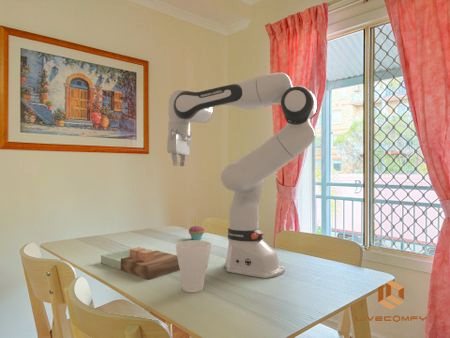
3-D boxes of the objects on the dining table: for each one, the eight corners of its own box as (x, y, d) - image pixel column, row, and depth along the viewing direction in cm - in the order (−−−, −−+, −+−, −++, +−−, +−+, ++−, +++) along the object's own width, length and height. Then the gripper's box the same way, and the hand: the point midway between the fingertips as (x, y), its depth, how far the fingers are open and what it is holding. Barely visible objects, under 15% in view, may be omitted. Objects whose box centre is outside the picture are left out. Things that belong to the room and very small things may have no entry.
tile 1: (145, 257, 115) (145, 248, 115) (136, 259, 112) (136, 250, 112) (138, 255, 118) (139, 247, 118) (129, 257, 115) (129, 249, 115)
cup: (217, 288, 95) (218, 243, 95) (191, 298, 87) (192, 249, 88) (194, 280, 102) (194, 238, 102) (168, 289, 94) (168, 243, 95)
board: (184, 268, 116) (184, 257, 116) (149, 279, 103) (149, 267, 103) (156, 260, 125) (156, 250, 126) (120, 269, 113) (120, 258, 113)
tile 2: (154, 259, 112) (154, 251, 112) (145, 261, 109) (145, 253, 109) (147, 257, 115) (147, 249, 115) (138, 259, 112) (138, 251, 112)
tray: (156, 260, 125) (156, 253, 126) (120, 269, 113) (120, 261, 113) (136, 255, 134) (136, 248, 134) (100, 263, 121) (101, 255, 121)
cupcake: (187, 238, 170) (187, 216, 170) (202, 237, 172) (202, 215, 172) (190, 241, 161) (190, 218, 162) (206, 240, 164) (206, 217, 164)
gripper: (179, 127, 117) (179, 165, 117) (193, 134, 138) (192, 166, 137) (162, 128, 118) (162, 165, 118) (179, 135, 139) (178, 166, 138)
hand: (179, 166), depth 128 cm, fingers open, 8 cm apart
